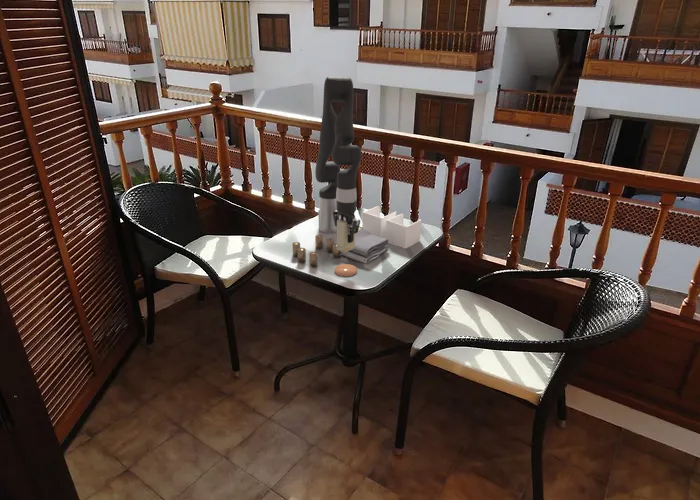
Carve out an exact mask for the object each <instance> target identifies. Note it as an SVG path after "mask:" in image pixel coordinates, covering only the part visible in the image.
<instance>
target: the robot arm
mask: <svg viewBox="0 0 700 500" xmlns="http://www.w3.org/2000/svg"><path fill="white" fill-rule="evenodd" d="M323 86H324V87H323V98H322V99H323V104H322V117H321V123H320V124H321V125H320V133H319V148H318V154H317V159H316V163H315V164H316V165H315V174H314V175H315V179H316V181H317V182H318V183H321V184H322V183H323V184H324V183H325V184H326V183H329V184H328V185H325V186H323V187H321V188H320V189H319V193H318V197H319V200H318V202H319V203H318V205H319V207H318V208H319V210H318V229H319V231H320V232H321V233H322V234H323V233H324V234H327V235H328V234H329V235H330V234H337V221H338V220H343V221H344V222H346V223H347V229H348V243H351V242H353V240H354V234H355V233H358V231H359V230H360V226H361V225H360V224H361V219H357V218H356V215H355V213H356V211H357V175H358V174H357V173H358V169H359V166H360V163H361V159H362V150H361V149H362V148H361V147H360V146H358V145H356V144H353V143H354V142H355V131H354V130H355V129H354V119H353V118H354V117H353V116H354V83H353V79H352V78H351V77H348V76H334V75H333V76H327V77H326V78H325V80H324V85H323ZM333 102H335V103H336V102H337V103H339V102H340V103H343V102H345V103H344V106H343V108H342V109H341V111H340V112H339V113H338V115H337V114H336V112H335V110H334V107H333V105H332V103H333ZM330 157H331V161H328V160H329V158H330ZM341 166H349V167H348V168H346V169H342V170H341ZM350 224H352V225H350ZM348 225H350V226H348ZM350 228H351V231H350Z"/></svg>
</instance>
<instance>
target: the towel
mask: <svg viewBox="0 0 700 500" xmlns="http://www.w3.org/2000/svg"><path fill="white" fill-rule="evenodd" d="M389 244H390V243H388V239H386V238H383V237H379V236H377V235H372V234H371V233H369V232H368V231H367V230H365V229H364V228H359V229H358V233H355V248H354V249H352V250H349V251H347V252H342V251H340V256H344V257H346V258H349V259H352V260H354V261H357V262H359V263H363V264H365V265H366V264H369V263H370V262H372V261H373V260H375V259H377V258H379V256H381V254H382V253H384V252H385V251H387V249H388V247H389Z"/></svg>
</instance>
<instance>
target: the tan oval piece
mask: <svg viewBox="0 0 700 500" xmlns="http://www.w3.org/2000/svg"><path fill="white" fill-rule="evenodd" d="M357 272H358V268H357V267H356V266H355V265H353V264H349V263H342V264H338V265H337V266H335V267H334V274H336V275H337V276H340V277H351V276H354V275H356V274H357Z"/></svg>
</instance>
